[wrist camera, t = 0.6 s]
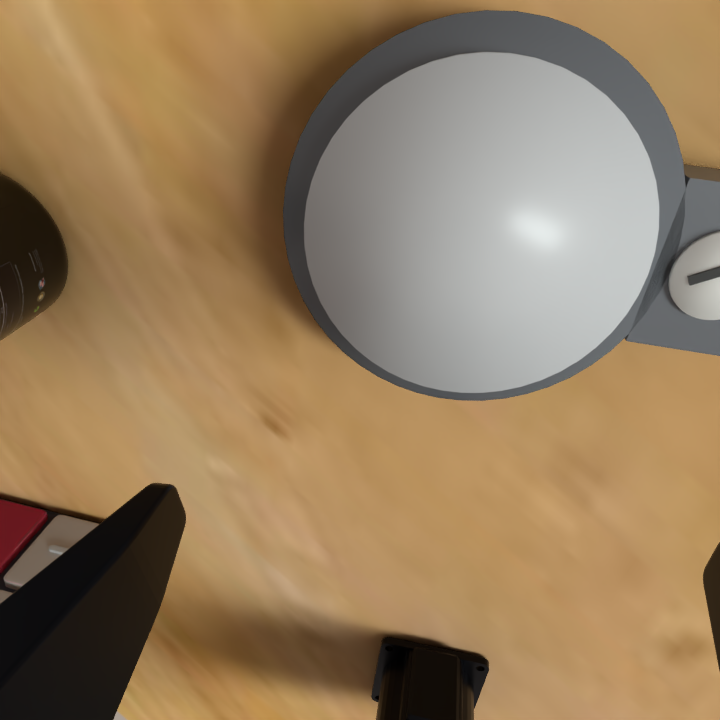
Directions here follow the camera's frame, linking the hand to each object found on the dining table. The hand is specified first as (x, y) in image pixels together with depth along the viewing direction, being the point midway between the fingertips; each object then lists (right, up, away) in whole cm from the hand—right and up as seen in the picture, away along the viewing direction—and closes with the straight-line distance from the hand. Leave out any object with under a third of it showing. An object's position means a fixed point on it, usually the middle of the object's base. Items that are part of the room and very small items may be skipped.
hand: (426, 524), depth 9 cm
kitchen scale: (+5, +8, +11) cm, 14 cm away
